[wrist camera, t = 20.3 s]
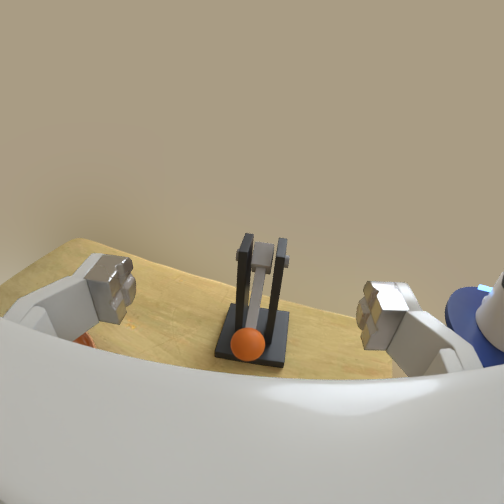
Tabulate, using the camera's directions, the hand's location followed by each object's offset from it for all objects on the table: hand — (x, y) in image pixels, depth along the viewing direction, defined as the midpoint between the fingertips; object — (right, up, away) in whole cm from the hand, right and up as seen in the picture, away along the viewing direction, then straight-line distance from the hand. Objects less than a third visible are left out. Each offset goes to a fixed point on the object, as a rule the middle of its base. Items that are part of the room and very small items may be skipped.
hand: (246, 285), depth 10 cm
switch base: (+1, -11, +31) cm, 33 cm away
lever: (+1, -5, +24) cm, 24 cm away
